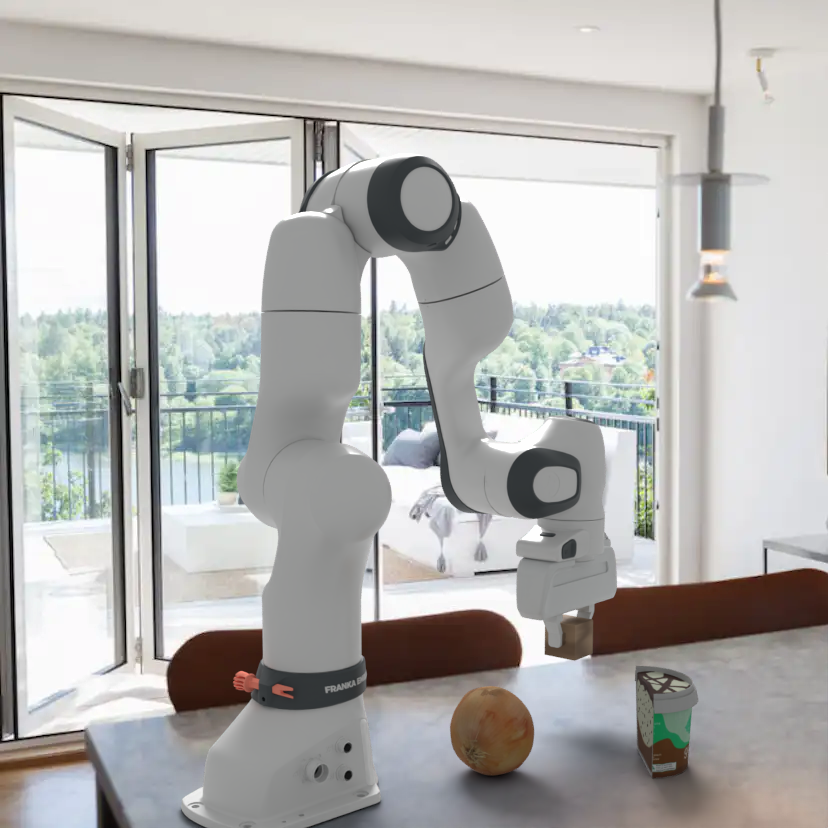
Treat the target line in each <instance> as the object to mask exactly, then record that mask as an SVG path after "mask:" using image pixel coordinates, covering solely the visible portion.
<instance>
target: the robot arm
mask: <svg viewBox="0 0 828 828" xmlns="http://www.w3.org/2000/svg"><path fill="white" fill-rule="evenodd" d="M393 256H396V257H398V259H400V261H401V262H402V263H403V264H404V266H405V267H406V270H408V271H407V272H408V274H409V276H410V279H411V282H412V286H413V291H414V293H415V297H416V300H417V303H418V307H419V310H420V314H421V318H422V323H423V330H424V338H425V339H424V343H423V346H422V361H423V363H422V364H423V369H424V370H423V371H424V374H425V375H424V376H425V381H426V385H427V391H428V396H429V400H430V404H431V409H432V414H433V419H434V423H435V428H436V432H437V437H438V444H439V454H440V455H439V462H440V464H439V476H440V484H441V488H442V491H443V493H444V495H445V496H444V497H445V498H446V499H447V500H448V502H449V504H451V506H453V507H454V508H455V509H457V510H458V511H460V512H463V513H466V514H480V515H481V514H482V515H484V514H485V515H489V514H490V515H493V516H499V517H504V518H505V517H506V518H516V519H520V520H526V521H527V520H528V521H529V520H537V521H536V522H537V523H536V524H534V525H533V526H532V528H530V530H529V531H528V532H527V533H526V534H524V535H523V536H522V537H520V538H518V540H517V541H516V543H515V553H516V554H515V555H516V556H517V557H519V558H521V559H520V561H519V562H518V564H517V569H516V583H515V584H516V586H515V588H516V589H515V590H516V591H515V592H516V593H515V595H516V610H517V611H518V613H519V615H520V617H522V618H523V619H529V620H533V621H534V620H535V621H541V622H542V621H543V624H544V628H545V627H546V629H547V632H548V644H549V645H550V646H551V647H556V648H559V647H561V646H564V645H565V644H566V641H565V639H566V633H564V632H562V628H561V624H560V622H562V621H563V614H564V615H565V614H567V613H570V612H573V611H577V613H576V617H581V618H587V619H592V618H593V616H594V613H595V604H597V603H600V602H604V601H607V600H610V599H613V598H614V597H615V595H616V592H617V589H618V577H617V576H618V573H617V562H616V561H617V560H616V554H615V550H614V548H613V546H611V544H612V543H611V538H609V536H608V535H607V533H606V532H605V529H606V528H605V526H606V525H605V523H606V521H605V519H606V516H605V515H606V514H605V509H604V505H603V494H604V490H605V487H606V475H607V474H606V471H607V470H606V465H607V464H606V449H605V441H604V437H603V433H602V432H603V431H602V430H601V428H600V426H599V425H598V424H597V423H595V422H594V421H592V420H590V419H586V418H582V417H574V416H569V415H559V414H558V415H550V416H547V417H545V418H544V420H543V423H542V424H541V426H539V428H537V430H535V431H534V432H533V433H531V434H530V435H527V436H526V437H524V438H522V439H520V440H517V442H514V441H513V442H510V441H509V442H508V441H498V440H495V439H493V437H491V436H490V435H489V434H488V433H487V432H486V430H485V428H484V425H483V421H482V416H481V411H480V404H479V400H478V396H477V390H476V386H475V371H476V368H477V365H478V364H479V362H480V361H482V359H484V358H485V357H487V356H488V355H490V354H491V353H494V351H495V350H496V349H498V347H500V345H502V343H503V342H504V341H505V339H507V336H508V334H509V333H510V330H511V328H512V325H513V322H514V307H513V300H512V299H513V298H512V294H511V291H510V287H509V285H508V281H507V278H506V275H505V271H504V269H503V265H502V262H501V260H500V256H499V254H498V252H497V248H496V246H495V243H494V242H493V239H492V237H491V235H490V232H489V230H488V228H487V226H486V224H485V222H484V220H483V218H482V216H481V213H479V211H478V209H477V207H476V206H475V205H474V204H473V203H472V202H470V201H469V200H467V199H466V198H463V197H461V196H460V194H458V192H457V189H456V186H455V184H454V182H453V181H452V179H451V177H450V175H449V174H448V173H447V171H446V170H445V169H444V168H443V167H442V165H440V164H439V163H438V162H437V161H436V160H434V159H433V158H431V157H428V156H425V155H422V154H417V153H397V154H394V155H391V156H387V157H380V158H369V159H368V158H366V159H362V160H358V161H355V162H352V163H350V164H347V165H345V166H343V167H340V168H335V169H332V170H330V171H327V172H325V173H324V174H322V175H321V176H319V177H318V178H317V179H315V181H313V183H312V184H310V186H309V187H308V189H307V190H306V192H305V193H304V195H303V198H302V200H301V204H300V207H299V211H298V212H297V213H294V214H292V215H289V216H287V217H285V218H283V219H282V220H280V221H279V222H277V224H276V225H275V226H274V227H273V229H272V231H271V234H270V237H269V242H268V248H267V251H266V256H265V257H266V258H265V263H264V270H263V278H262V289H261V290H262V291H261V314H260V315H261V316H260V319H261V320H260V324H261V326H260V370H259V371H260V372H259V374H260V375H259V385H258V395H257V401H256V406H255V409H254V415H253V421H252V425H251V430H250V436H249V439H248V441H249V442H248V445H247V450H246V452H245V454H244V455H243V457H242V459H241V461H240V463H239V466H238V469H237V473H236V486H237V487H236V489H237V491H238V495H239V497H240V499H241V500H242V502H243V504H244V505H245V506H246V508H247V509H248V510H249V511H250V512H251V514H252V515H253V516H254V517H255V518H256V519H257V520H258V521H259V522H261V523H262V524H264V525H267V526H269V527H271V528H274V529H276V530H277V547H276V553H275V557H274V562H273V567H272V571H271V575H270V577H269V581H267V583H266V584H265V586H264V588H263V590H262V594H261V607H262V608H261V609H262V611H261V617H262V620H261V621H262V624H261V627H262V659H260V662H259V664H258V668H257V670H256V674H254V673H248V672H246V671H243V670H240V671H238V672H236V673H235V676H234V677H233V679H232V680H234V681H233V682H232V684H233V687H235V690H238V691H245V692H246V693H250V697H251V699H250V700H249V702H248V703H247V704H246V705H245V706H244V708H243V709H242V710H241V711H240V713H239V714H238V715H237V716H236V718H235V719H234V720H233V721H232V722H231V723H230V725H229V726H228V727H227V728H226V729H225V731H223V733H222V734H221V735H220V736H219V738H218V739H217V740H216V741H215V742H214V743H213V744H212V746H210V748H209V750H208V752H207V755H206V759H205V763H204V771H203V781H202V783H203V784H202V785H201V787H199V788H197V789H196V790H194V791H192V792H190V793H189V794H186V795H185V796H184V797H182V799H181V803H180V807H181V810H182V813H183V815H185V816H186V817H187V818H188V819H189V820H191V821H192V822H194V823H196V824H198V825H200V826H202V827H204V828H309V827H311V826H314V825H318V824H320V823H323V822H327V821H329V820H332V819H335V818H337V817H340V816H343V815H347V814H349V813H352V812H355V811H358V810H360V809H363V808H367V807H370V806H373V805H375V804H378V803H380V802H381V800H382V797H381V789H380V787H379V786H378V784H379V783H378V782H379V776H378V774H377V770H376V768H375V764H374V759H373V749H372V742H371V735H370V734H371V733H370V727H369V721H368V717H367V713H366V708H365V703H364V693H365V692H366V690H367V675H368V673H367V669H366V659H365V656H363V655H362V593H363V585H364V577H365V574H366V573H365V572H366V567H367V564H368V560H369V559H368V558H369V556H370V555H369V554H370V551H371V547H372V543H373V540H374V538H375V535H376V534H378V531H380V530H381V528H382V527H383V525H384V524H385V523H386V520H387V519H388V516H389V514H390V511H391V506H392V499H393V498H392V497H393V496H392V485H391V482H390V480H389V479H390V478H389V477H388V475H387V473H386V471H385V470H384V469H383V467H382V466H381V465H380V463H378V462H377V461H376V460H374V459H373V458H372V457H370V456H369V455H368V454H366V453H365V452H363V451H361V450H360V449H359V448H357V447H355V446H353V445H350V444H346V443H343V442H341V436H342V432H343V431H342V430H343V427H344V424H345V420H346V415H347V411H348V409H349V406H350V404H351V401H352V399H353V397H354V395H356V393H357V391H358V390H359V387H360V384H361V375H362V374H361V373H362V371H361V365H362V364H361V361H362V291H361V290H362V287H361V283H362V276H363V273H364V269H365V268H366V265H367V263H368V261H369V259H370V258H375V259H379V258H380V259H381V258H383V259H384V258H387V257H393Z"/></svg>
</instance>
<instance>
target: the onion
mask: <svg viewBox="0 0 828 828" xmlns="http://www.w3.org/2000/svg"><path fill="white" fill-rule="evenodd" d="M527 707H528V706H526V704H525V703H524V702H523V701H522V699H521V698H519V697H518V696H517V695H516V694H514V693H513V692H512V691H509V690H508V689H506V688H503V687H500V686H494V685H488V686H481V687H476V688H473V689H470V690H469V691H467V692H466V693H465V694H464V695H463V697H462V698H461V699H460V701H459V702H458V704H457V706H456V708H455V709H454V711H453V713H452V716H451V719H450V723H449V731H450V742H451V745H452V749H453V751H454V753H455V756H457V757H458V759H459V760H460V761H461V762H462V763H463V764H465V765H466V766H467V767H468V768H470V769H471V770H472V771H474V772H477V773H479V774H481V775H485V776H498V775H499V776H500V775H504V774H509V773H510V772H513V771H515V770H517V769H519V768H521V766H522V765H523V764H524V763H525V761H526V760H527V759H528V757H529V756H530V754H531V752H532V750H533V747H534V741H535V740H534V739H535V725H534V720H533V717H532V715H531V713H530V711H529V709H528V708H527Z"/></svg>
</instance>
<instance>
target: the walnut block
mask: <svg viewBox="0 0 828 828" xmlns="http://www.w3.org/2000/svg"><path fill="white" fill-rule="evenodd" d="M560 624H561V628H562V632H564V633H566V639H565V641H566V644H565V645H564V646H561V647H559V648H556V647H551V646H550V645H549V644H548V632H547V629H546V627H545V626H544V655H545V656H550V657H555V658H560V659H565V660H569V661H574V662H576V661H577V660H580V659H583V658H585V657H588V656H590V655H593V650H594V649H593V648H594V647H593V646H594V645H593V644H594V619H587V618H581V617H577V615H576V616H575V615H574V616H573V615H570V614H565V613H564V614H563V621H562V622H560Z"/></svg>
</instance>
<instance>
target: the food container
mask: <svg viewBox="0 0 828 828" xmlns="http://www.w3.org/2000/svg"><path fill="white" fill-rule="evenodd" d="M634 681H635V696H636V697H635V699H636V700H635V707H636V709H635V710H636V713H635V715H636V717H635V718H636V749H637V751H638V754H639V755H640V757H641V759H642V761H643V763H644V765H645V767H646V769H647V771H648V773H649V775H650V777H651V779H664V778H669V777H676V776H678V775H680V774H682V773H684V772H686V770H687V769H688V765H689V764H688V763H689V755H690V754H689V752H690V739H691V725H692V724H691V723H692V714H693V713H692V712H693V707H695V706H696V705H697V704H698V702H699V695H698V690H697V687H696V684H695V683H694V680H693V678H692V677H691V676H689V675H688V674H686V673H684V672H682V671H678V670H675V669H671V668H666V667H660V666H651V665H635V671H634Z"/></svg>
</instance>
